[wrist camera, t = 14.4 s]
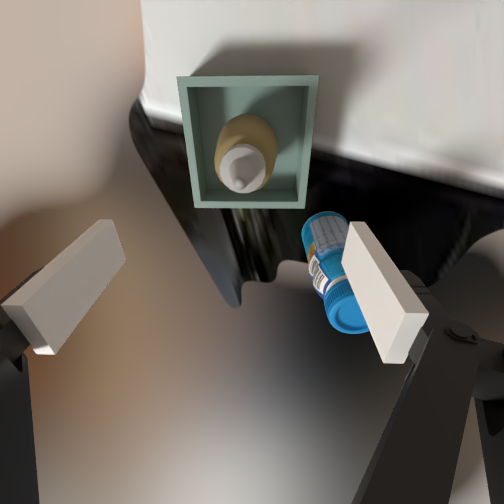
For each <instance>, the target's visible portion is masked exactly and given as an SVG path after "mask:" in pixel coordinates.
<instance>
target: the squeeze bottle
mask: <svg viewBox="0 0 504 504" xmlns="http://www.w3.org/2000/svg"><path fill="white" fill-rule="evenodd" d="M277 154H278V140H277V137H276V134H275V131H274V129H273V128H272V127H271V125H270V124H269V123H268V122H267V121H266V120H265V119H263V118H261V117H259V116H257V115H254V114H240V115H238V116H236V117H234V118H232V119H230V120H229V121H228V122H227V123H226V125H225V126H224V127H223V128H222V129H221V132H220V136H219V139H218V142H217V147H216V152H215V157H214V161H215V171H216V173H217V175H218V177H219V179H220V181H221V182H223V183H224V184H225V185H226V186H227V187H228V188H229V189H230V190H232V191H235V192H237V193H251V192H253V191H256V190H258V189H261V188H262V187H263V186H264V185H265V184H266V183H267V182H268V181H269V179H270V177H271V175H272V173H273V171H274V167H275V162H276V158H277Z"/></svg>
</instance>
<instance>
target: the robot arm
mask: <svg viewBox="0 0 504 504" xmlns="http://www.w3.org/2000/svg"><path fill="white" fill-rule="evenodd" d="M125 261H126V259H125V256H124V253H123V250H122V247H121V244H120V241H119V238H118V235H117V232H116V229H115V226H114V223H113V220H98V221H97V222H96V223H95V224H94V225H92V226H91V227H90V228H89V229H88V230H87V231H86V232H84V233H83V234H82V235H81V236H80V237H79V238H78V239H76V240H75V241H74V242H73V243H72V244H71V245H69V246H68V247H67V248H66V249H65V250H64V251H62V252H61V253H60V254H59V255H58V256H57V257H55V259H53V260H52V261H51V262H50V263H49V264H47V265H46V266H44V267H42V268H40V269H39V270H37V271H35V272H33V273H32V274H31V275H30V276H29V277H27V278H26V279H25V280H24V282H21V283H20V284H19V285H18V286H17V287H16V288H15V289H13V290H12V291H11V292H9V293H8V294H7V295H6V296H5V297H4V298H2V299H1V300H0V504H39V492H38V480H37V470H36V456H35V445H34V433H33V420H32V410H31V409H32V408H31V396H30V384H29V372H28V360H27V357H26V355H25V353H24V351H25V350H26V348H27V347H28V346H29V345H31V347H32V348H33V350H34V351H35V352H36V353H37V354H56V353H57V351H58V350H59V349H60V347H61V346H62V345H63V343H64V342H65V341H66V339H67V338H68V337H69V335H70V334H71V333H72V331H73V330H74V328H75V327H76V326H77V325H78V323H79V322H80V321H81V319H82V318H83V317H84V315H85V314H86V313H87V311H88V310H89V309H90V307H91V306H92V305H93V303H94V302H95V301H96V299H97V298H98V297H99V295H100V294H101V293H102V291H103V290H104V289H105V287H106V286H107V285H108V283H109V282H110V281H111V279H112V278H113V277H114V275H115V274H116V273H117V271H118V270H119V269H120V267H121V266H122V265H123V263H124V262H125ZM341 264H342V266H343V268H344V271H345V273H346V276H347V278H348V280H349V283H350V285H351V287H352V290H353V292H354V294H355V297H356V299H357V302H358V304H359V306H360V309H361V311H362V313H363V316H364V318H365V321H366V323H367V325H368V328H369V330H370V332H371V335H372V337H373V339H374V342H375V344H376V346H377V349H378V351H379V353H380V356H381V358H382V361H383V363H404V361H405V359H406V358H407V356H408V354H409V355H410V357H411V359H412V361H413V363H414V364H413V366H412V367H411V369H410V371H409V373H408V375H407V376H406V378H405V380H406V381H405V383H404V385H403V387H402V390H401V392H400V394H399V397H398V399H397V401H396V403H395V406H394V408H393V411H392V412H391V415H390V417H389V419H388V422H387V424H386V426H385V428H384V431H383V433H382V435H381V437H380V440H379V442H378V444H377V447H376V449H375V451H374V454H373V456H372V458H371V460H370V462H369V465H368V467H367V469H366V472H365V474H364V476H363V478H362V481H361V483H360V485H359V488H358V490H357V492H356V494H355V497H354V499H353V501H352V503H351V504H448V503H449V498H450V493H451V489H452V484H453V479H454V475H455V470H456V465H457V461H458V456H459V451H460V446H461V441H462V437H463V432H464V427H465V423H466V418H467V414H468V409H469V404H470V400H471V396H472V397H474V400H475V407H476V413H477V419H478V426H479V432H480V439H481V445H482V451H483V458H484V464H485V471H486V477H487V483H488V489H489V496H490V503H491V504H504V344H502V343H498V342H494V341H490V340H486V339H482V338H480V337H479V335H478V334H477V332H475V331H474V330H473V329H471V327H469V326H467V325H465V324H463V323H462V322H459V321H456V320H453V319H451V318H450V317H449V316H448V314H447V313H446V312H445V310H444V309H443V308H442V307H441V305H440V304H439V303H438V302H437V300H436V299H435V298H434V297H433V295H431V293H430V291H429V290H428V289H427V288H426V287H425V285H424V284H423V282H422V281H421V280H420V278H419V277H417V276H416V275H414V274H413V273H412V272H410V271H409V270H398V268H397V267H396V266H395V264H394V263H393V261H392V260H391V259H390V257H389V256H388V254H387V253H386V251H385V250H384V249H383V247H382V246H381V244H380V243H379V242H378V240H377V239H376V237H375V236H374V234H373V233H372V232H371V230H370V229H369V227H368V226H367V225H366V223H365V222H350V225H349V230H348V234H347V239H346V243H345V248H344V252H343V257H342V261H341Z"/></svg>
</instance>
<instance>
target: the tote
mask: <svg viewBox="0 0 504 504" xmlns="http://www.w3.org/2000/svg"><path fill="white" fill-rule="evenodd" d="M318 82H319V75H276V76H184V77H177V83H178V91H179V98H180V105H181V112H182V119H183V127H184V134H185V141H186V148H187V155H188V163H189V170H190V177H191V184H192V191H193V198H194V206H195V208H305V200H306V191H307V182H308V173H309V164H310V155H311V146H312V137H313V127H314V118H315V109H316V100H317V91H318ZM240 114H254V115H257V116H259V117H261V118H263V119H265V120H266V121H267V122H268V123H269V124H270V125H271V127H272V128H273V129H274V131H275V134H276V137H277V140H278V154H277V158H276V162H275V167H274V171H273V173H272V175H271V177H270V179H269V181H268V182H267V183H266V184H265V185H264V186H263V187H262V188H261V189H258V190H256V191H253V192H251V193H237V192H235V191H232V190H230V189H229V188H228V187H227V186H226V185H225V184H224V183H223V182H221V181H220V179H219V177H218V175H217V173H216V171H215V161H214V157H215V152H216V147H217V142H218V139H219V136H220V132H221V129H222V128H223V127H224V126H225V125H226V123H227V122H228V121H229V120H230V119H232V118H234V117H236V116H238V115H240Z"/></svg>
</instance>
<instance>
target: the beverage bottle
mask: <svg viewBox="0 0 504 504" xmlns="http://www.w3.org/2000/svg"><path fill="white" fill-rule="evenodd" d="M348 230H349V224H348V222H347V220H346V219H345V218H344V217H343V216H342V215H340V214H338V213H336V212H331V211H325V212H320V213H317V214H315V215H314V216H312V217H311V218H309V219H308V220H307V222H306V223H305V225H304V227H303V229H302V240H303V243H304V246H305V250H306V255H307V259H308V263H309V272H310V276H311V278H312V280H313V285H314V287H315V290H316V291H317V293H318V294H319V295H320V296H321V297H322V298H323V299H324V304H325V309H326V312H327V316H328V319H329V321H330V323H331V324H332V326H333V327H334V328H335V329H337V330H339V331H341V332H344V333H349V334H358V333H363V332H367V331H370V330H369V328H368V325H367V323H366V321H365V318H364V316H363V313H362V311H361V309H360V306H359V304H358V302H357V299H356V297H355V294H354V292H353V290H352V287H351V285H350V283H349V280H348V278H347V276H346V273H345V271H344V268H343V266H342V264H341V261H342V257H343V252H344V248H345V243H346V239H347V234H348Z"/></svg>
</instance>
